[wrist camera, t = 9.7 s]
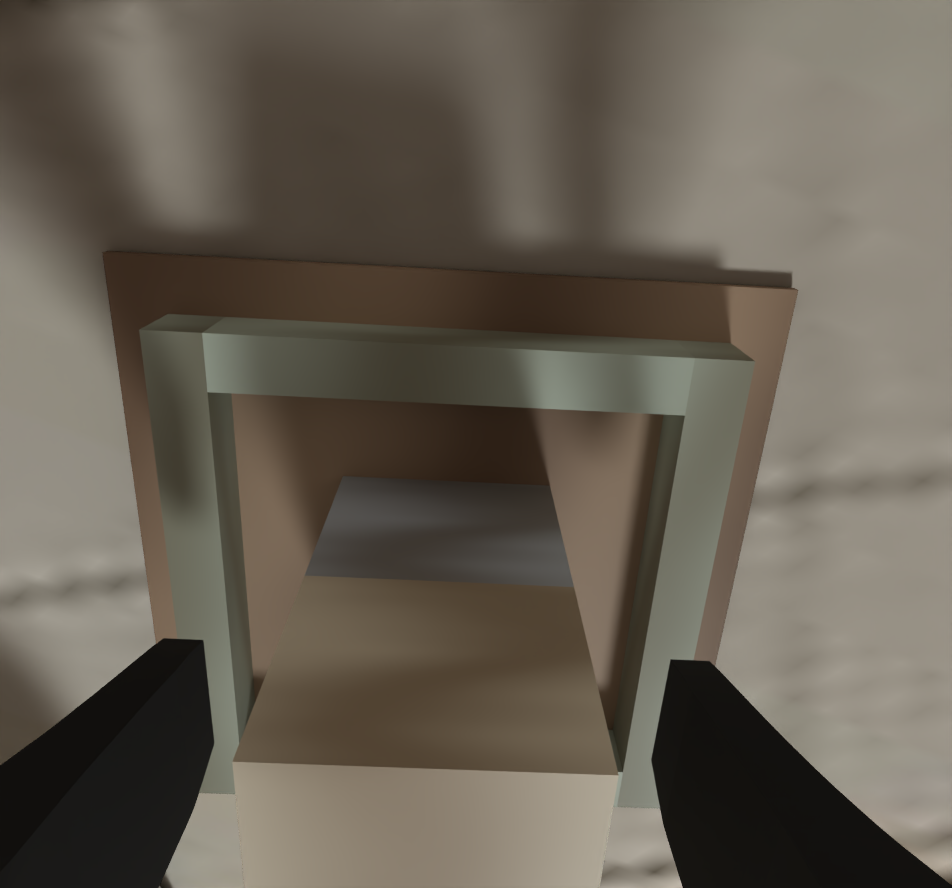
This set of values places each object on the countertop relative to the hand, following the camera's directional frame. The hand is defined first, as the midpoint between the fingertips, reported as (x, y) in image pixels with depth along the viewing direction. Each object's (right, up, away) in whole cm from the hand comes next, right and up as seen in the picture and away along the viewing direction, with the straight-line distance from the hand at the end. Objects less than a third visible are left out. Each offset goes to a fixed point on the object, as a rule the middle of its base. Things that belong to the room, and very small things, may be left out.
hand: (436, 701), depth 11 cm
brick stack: (0, +1, +4) cm, 4 cm away
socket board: (0, +1, +4) cm, 4 cm away
